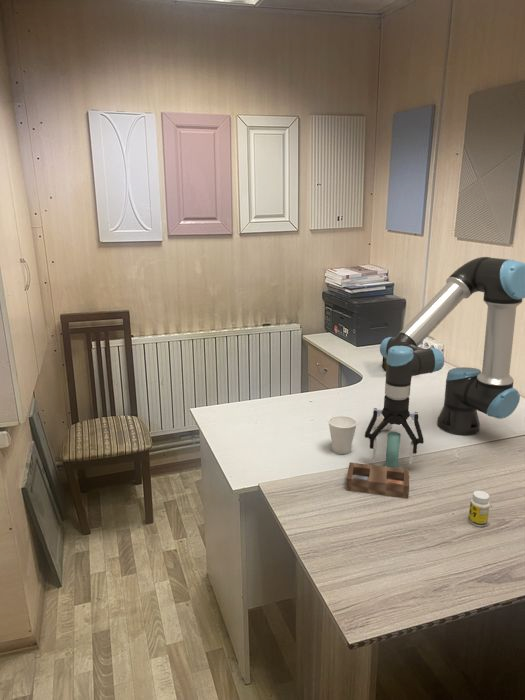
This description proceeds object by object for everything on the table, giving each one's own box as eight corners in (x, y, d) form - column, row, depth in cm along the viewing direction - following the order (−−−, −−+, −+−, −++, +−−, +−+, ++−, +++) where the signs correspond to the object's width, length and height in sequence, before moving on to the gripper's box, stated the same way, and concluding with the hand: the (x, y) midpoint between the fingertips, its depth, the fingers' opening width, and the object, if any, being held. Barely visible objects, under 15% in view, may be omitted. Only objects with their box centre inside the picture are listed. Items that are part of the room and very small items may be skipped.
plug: (397, 465, 169) (400, 432, 165) (397, 471, 165) (400, 437, 161) (385, 464, 170) (387, 430, 166) (385, 470, 166) (387, 436, 162)
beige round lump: (392, 434, 191) (394, 415, 188) (371, 432, 192) (372, 413, 190) (391, 425, 198) (393, 406, 196) (371, 423, 200) (372, 405, 197)
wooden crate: (399, 372, 259) (400, 358, 257) (384, 372, 259) (385, 358, 257) (396, 368, 266) (397, 354, 264) (382, 368, 266) (382, 354, 264)
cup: (358, 446, 182) (359, 417, 178) (353, 459, 173) (354, 429, 169) (330, 442, 185) (331, 413, 182) (324, 454, 176) (325, 425, 173)
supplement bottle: (465, 516, 142) (468, 489, 139) (481, 516, 142) (485, 489, 140) (473, 527, 137) (477, 499, 135) (490, 526, 137) (494, 499, 135)
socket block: (407, 480, 159) (408, 468, 158) (408, 498, 150) (409, 485, 149) (349, 473, 164) (349, 461, 163) (345, 490, 154) (346, 477, 153)
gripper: (435, 394, 161) (429, 458, 167) (359, 388, 166) (356, 450, 173) (437, 403, 154) (430, 469, 160) (358, 396, 159) (354, 460, 166)
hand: (392, 459), depth 166 cm, fingers open, 11 cm apart
